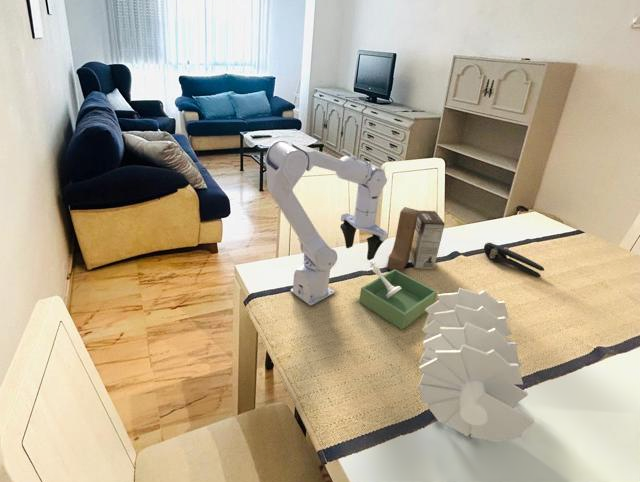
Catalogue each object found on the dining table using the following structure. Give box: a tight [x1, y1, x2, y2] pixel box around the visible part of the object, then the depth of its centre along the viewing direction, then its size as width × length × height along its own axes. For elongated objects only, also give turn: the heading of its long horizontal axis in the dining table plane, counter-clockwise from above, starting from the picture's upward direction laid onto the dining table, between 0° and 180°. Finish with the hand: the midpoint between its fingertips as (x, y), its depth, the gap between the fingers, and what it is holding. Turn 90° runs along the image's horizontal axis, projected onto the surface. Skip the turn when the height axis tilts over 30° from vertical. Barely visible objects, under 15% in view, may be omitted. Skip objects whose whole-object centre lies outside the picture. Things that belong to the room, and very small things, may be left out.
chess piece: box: [369, 261, 402, 299], centre depth 104 cm, size 5×5×10 cm
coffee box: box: [409, 210, 446, 270], centre depth 120 cm, size 9×6×16 cm
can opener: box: [483, 242, 545, 278], centre depth 122 cm, size 18×7×6 cm, turn 41°
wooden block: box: [386, 206, 420, 273], centre depth 117 cm, size 9×4×18 cm, turn 148°
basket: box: [358, 269, 438, 330], centre depth 102 cm, size 15×13×4 cm
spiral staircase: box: [416, 287, 536, 443], centre depth 74 cm, size 18×18×25 cm
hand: (359, 252), depth 107 cm, fingers open, 7 cm apart
